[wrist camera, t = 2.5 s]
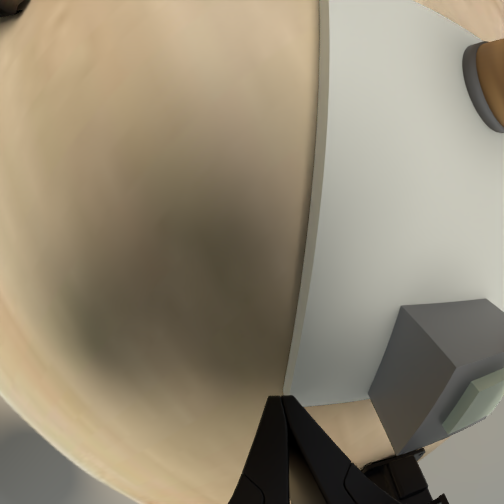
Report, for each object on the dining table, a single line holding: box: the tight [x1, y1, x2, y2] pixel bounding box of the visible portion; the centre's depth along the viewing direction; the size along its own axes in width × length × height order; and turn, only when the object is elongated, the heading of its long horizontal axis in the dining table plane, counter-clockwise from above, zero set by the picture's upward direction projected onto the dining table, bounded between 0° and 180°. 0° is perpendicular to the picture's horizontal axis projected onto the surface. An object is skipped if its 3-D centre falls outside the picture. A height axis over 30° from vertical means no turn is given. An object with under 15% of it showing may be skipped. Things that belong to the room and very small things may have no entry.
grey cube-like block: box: [368, 298, 504, 456], centre depth 9 cm, size 5×6×5 cm
